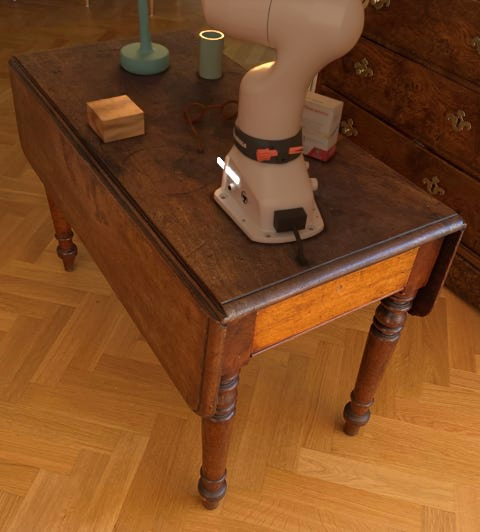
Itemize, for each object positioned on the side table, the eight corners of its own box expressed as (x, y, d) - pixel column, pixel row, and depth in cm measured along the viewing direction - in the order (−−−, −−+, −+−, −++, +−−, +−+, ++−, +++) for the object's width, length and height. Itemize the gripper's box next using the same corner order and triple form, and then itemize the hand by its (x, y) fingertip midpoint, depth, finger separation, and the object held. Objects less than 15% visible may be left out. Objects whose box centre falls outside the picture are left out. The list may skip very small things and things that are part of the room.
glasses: (239, 117, 137) (240, 96, 134) (258, 146, 128) (260, 124, 125) (182, 123, 133) (182, 102, 130) (198, 153, 124) (199, 131, 121)
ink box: (335, 153, 128) (345, 101, 120) (325, 162, 125) (334, 110, 117) (300, 140, 131) (307, 88, 123) (289, 149, 128) (295, 96, 120)
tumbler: (225, 78, 152) (227, 38, 146) (202, 80, 151) (203, 40, 144) (218, 68, 157) (219, 29, 150) (196, 70, 155) (196, 31, 148)
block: (144, 134, 129) (143, 112, 125) (104, 143, 125) (102, 121, 122) (127, 115, 134) (125, 94, 131) (88, 124, 130) (86, 102, 127)
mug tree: (119, 56, 158) (112, -49, 142) (167, 55, 161) (165, -47, 144) (121, 76, 149) (113, -33, 133) (171, 75, 151) (170, -32, 135)
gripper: (290, -25, 157) (242, -22, 152) (330, 1, 143) (278, 5, 138) (288, 0, 161) (240, 4, 156) (326, 28, 147) (276, 33, 143)
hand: (259, 5), depth 147 cm, fingers open, 8 cm apart
